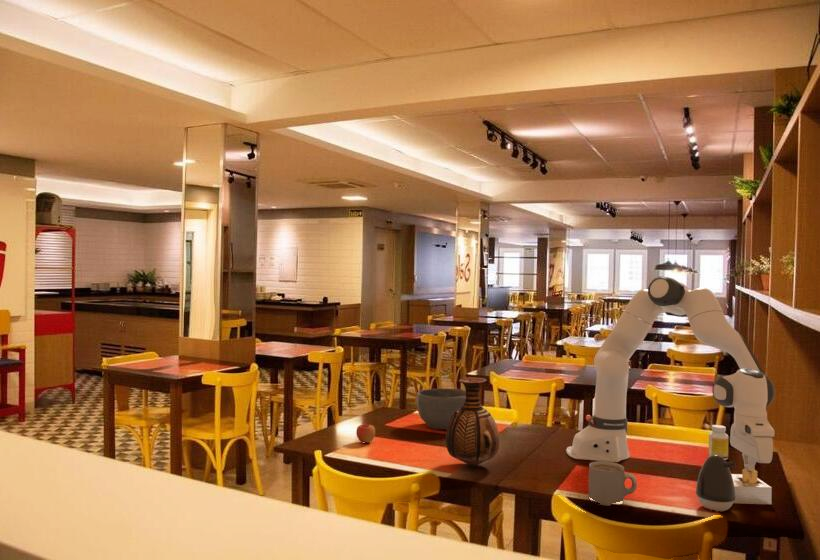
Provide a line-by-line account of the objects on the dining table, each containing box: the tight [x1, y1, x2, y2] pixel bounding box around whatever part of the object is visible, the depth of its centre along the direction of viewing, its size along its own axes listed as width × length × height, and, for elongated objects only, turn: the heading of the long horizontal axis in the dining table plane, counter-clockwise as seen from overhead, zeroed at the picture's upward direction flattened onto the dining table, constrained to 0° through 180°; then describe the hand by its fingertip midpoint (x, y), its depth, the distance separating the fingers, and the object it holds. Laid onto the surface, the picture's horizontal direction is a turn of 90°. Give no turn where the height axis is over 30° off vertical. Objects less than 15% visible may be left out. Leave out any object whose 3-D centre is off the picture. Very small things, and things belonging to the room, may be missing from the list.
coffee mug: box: [588, 461, 638, 507], centre depth 195 cm, size 13×10×10 cm
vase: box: [445, 377, 500, 468], centre depth 227 cm, size 21×18×30 cm
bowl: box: [415, 387, 466, 430], centre depth 283 cm, size 24×24×15 cm
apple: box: [356, 422, 376, 443], centre depth 256 cm, size 7×7×8 cm
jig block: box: [731, 473, 773, 505], centre depth 199 cm, size 14×12×5 cm
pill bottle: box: [708, 424, 729, 461], centre depth 241 cm, size 6×6×12 cm
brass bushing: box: [741, 468, 758, 484], centre depth 199 cm, size 4×4×8 cm
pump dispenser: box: [695, 455, 737, 512], centre depth 189 cm, size 10×10×15 cm
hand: (749, 469), depth 199 cm, fingers closed
